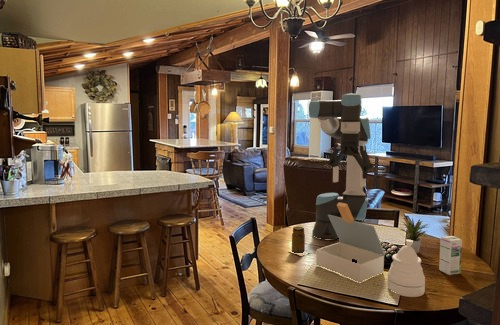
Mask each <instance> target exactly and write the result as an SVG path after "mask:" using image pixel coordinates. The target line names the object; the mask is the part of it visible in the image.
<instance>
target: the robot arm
mask: <svg viewBox="0 0 500 325" xmlns="http://www.w3.org/2000/svg"><path fill="white" fill-rule="evenodd" d="M361 112H362V98H361V95H360V94H359V93H345V94H342V95H341V99H337V100H328V99H326V100H323V99H322V100H318V99H317V100H311V101H309V103H308V116H309V118H313V119H317V120H318V121H319V123H320V126H319V127H320V129H321V130H322V132H323V133H324V134H325V135H328V136H330V137H332V138H333V139H340V143H335V144H334V146H333V147H334V148H333V151H332V153H331V156H330V158H329V161H328V162H327V164H328V165H329V166H331V174H332V183H338V182H339V175H340V174H339V172H340V171H339V169H340V167H339V164H340V162H341V161H342V160H343V159H344V158H345V157H346V177H345V180H346V181H345V191H344V192H342V196H340V194H339V193H337V192H325V193H321V194H319V195H317V197H316V200H315V201H316V202H315V223H314V226H313V229H312V234H311V235H313V236H315V237H317V238H321V239H337V238H338V236H337V234H336V232H335V229H334V227H333V225H332V223H331V221H330V219H329V217H328V215H333V216H337V217H341V218H342V216H341V214H340V211H339V209H338V207H337V204H338V203H339V202H341V203H345V204H347V205H348V207H349V209H350V212H351V214H352V216H353V219H354V221H357V220H358V221H363V220H364V219H366V216H367V215H366V214H367V210H368V203H369V198H368V197H367V195H366V193H365V192H364V187H366V184H367V180H368V177H369V176H368V172H369V170H372V169H373V165H372V163H371V161H370V158H369V155H368V151H367V146H366V145H367V144H368V142H369V141H368V140H371V137H372V136H371V129H370V120H369V117H367V116H361ZM313 236H312V237H313ZM315 237H314V238H315ZM317 238H316V239H317ZM321 239H320V240H321ZM337 240H338V239H337Z"/></svg>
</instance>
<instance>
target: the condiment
mask: <svg viewBox="0 0 500 325" xmlns="http://www.w3.org/2000/svg"><path fill="white" fill-rule="evenodd" d="M305 237H306V235H305V228H304V227H303V226H293V228H292V234H291V251H292V252H294V253H303V252H304V251H305V249H306V247H305V246H306V240H305V239H306V238H305Z"/></svg>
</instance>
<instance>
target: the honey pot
mask: <svg viewBox="0 0 500 325" xmlns="http://www.w3.org/2000/svg"><path fill="white" fill-rule="evenodd" d="M406 244H407V245H406ZM412 244H413V240H405V245H402V247H401V248H399V250H398V251H397V253H394V254H393V255H391V258H392V260H393V261H392V262H391V264H390V266H389V267H390V268H389V270H388V271H387V282H386V283H387V284H386V286H388V288H389V289H391V290H392V291H394V292H396V293H399V294H400V295H399V296H403V297H408V298H417V297H421V296H423V295H424V294H425V289H426V277H425V275H424V271H423V267H422V265H421V263H422V259H421V258H420V257H419V256H418V255H417V254H418V253H416V252H415V251H414V249H413V248H412V247H411V245H412ZM388 288H387V289H388ZM389 289H388V290H389ZM392 291H391V292H392ZM394 292H393V293H394ZM396 293H395V294H396Z"/></svg>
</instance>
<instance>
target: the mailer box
mask: <svg viewBox="0 0 500 325" xmlns="http://www.w3.org/2000/svg"><path fill="white" fill-rule="evenodd" d="M315 257H316V259H315V262H316V264H315V265H319V266H322V267H325V268H327V269H330V270H332V271H335V272H338V273H340V274H342V275H344V276H346V277H349V278H351V279H353V280H355V281H358V282H362V281H363V280H365V279H368V278H370V277H372V276H375V275H377V274H380V273H382V272H383V273H384V267H385V266H384V265H385V256H384V255H381V254H378V253H375V252H371V251H368V250H365V249H362V248H359V247H356V246H352V245H349V244H346V243H343V242H340V241H339V242H335V243H332V244H330V245H327V246H323V247H321V248H320V247H319V248H317V249H316V256H315ZM352 259H355V260H357V263H355V262H352Z"/></svg>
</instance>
